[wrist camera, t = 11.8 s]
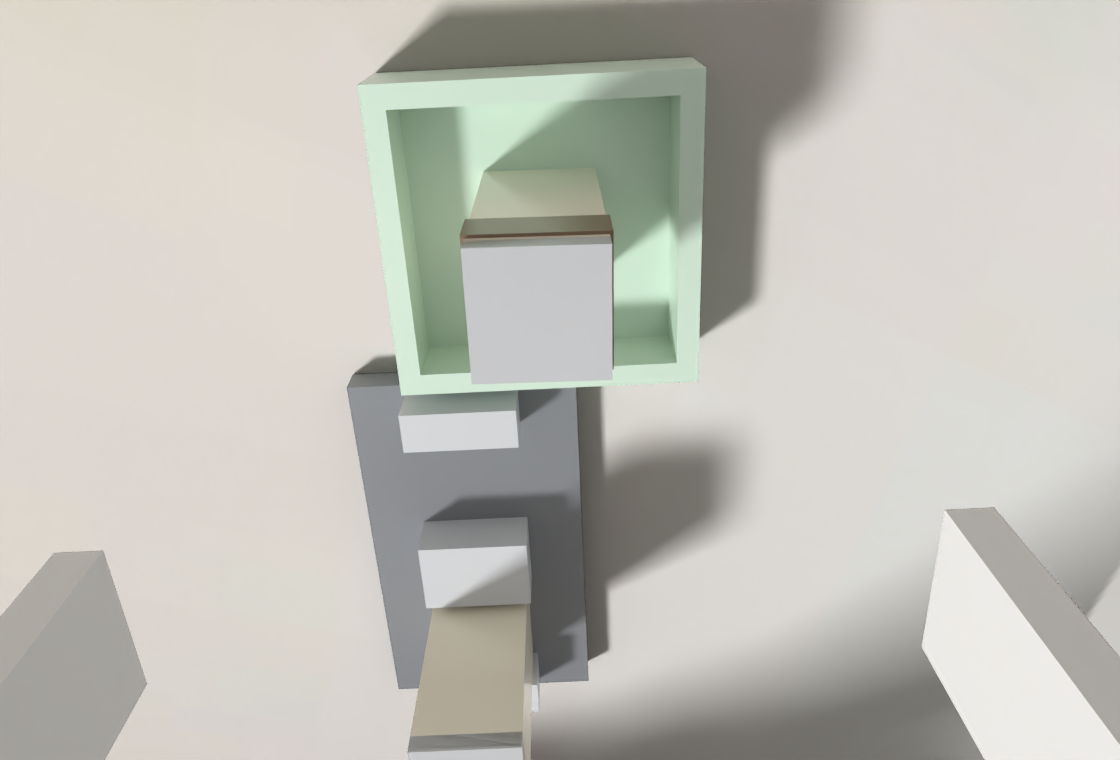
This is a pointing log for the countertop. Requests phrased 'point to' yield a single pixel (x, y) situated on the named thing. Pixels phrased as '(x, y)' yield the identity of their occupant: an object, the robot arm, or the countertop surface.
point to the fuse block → (475, 514)
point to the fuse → (475, 685)
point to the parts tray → (530, 144)
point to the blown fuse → (539, 278)
